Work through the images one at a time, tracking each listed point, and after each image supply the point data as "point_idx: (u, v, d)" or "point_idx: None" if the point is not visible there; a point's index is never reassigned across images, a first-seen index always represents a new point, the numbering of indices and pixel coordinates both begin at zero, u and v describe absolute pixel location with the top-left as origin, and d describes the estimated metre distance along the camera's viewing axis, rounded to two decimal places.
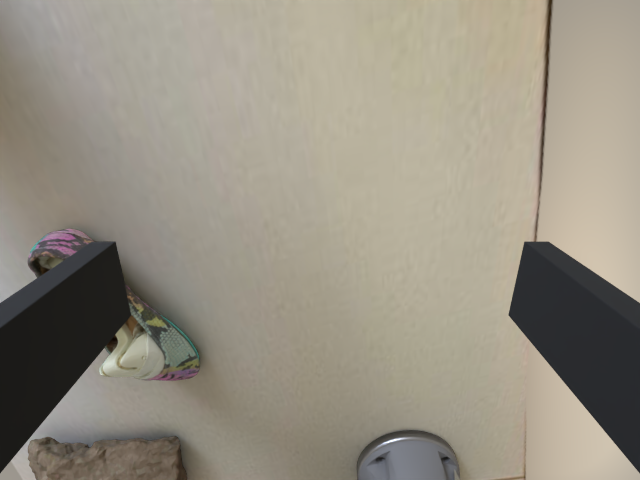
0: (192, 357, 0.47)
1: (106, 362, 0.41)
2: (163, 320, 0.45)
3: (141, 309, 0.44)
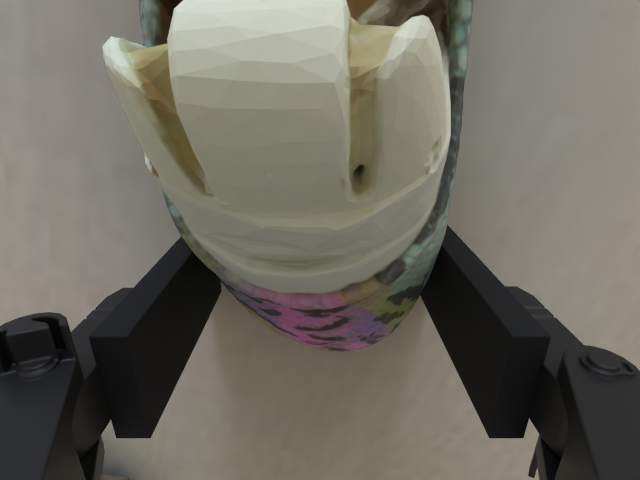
0: (421, 290, 0.12)
1: None
2: None
3: None
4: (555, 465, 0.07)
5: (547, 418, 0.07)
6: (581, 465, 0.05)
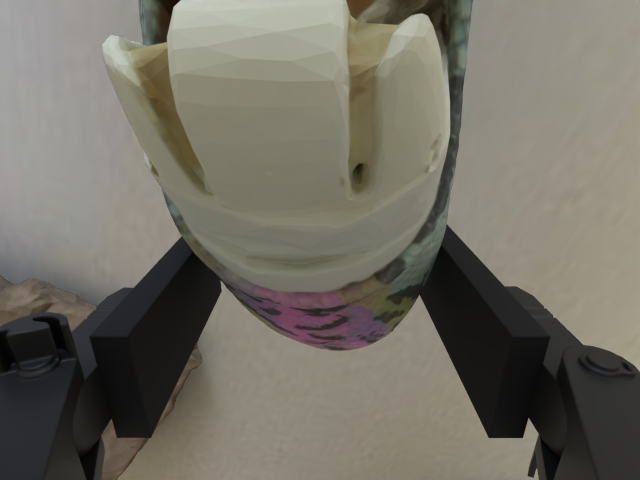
0: (420, 289, 0.12)
1: None
2: None
3: None
4: (555, 465, 0.07)
5: (547, 418, 0.07)
6: (581, 465, 0.05)
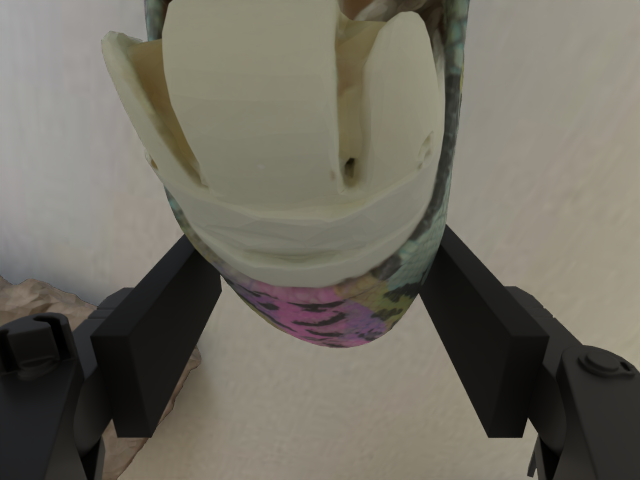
0: (419, 288, 0.12)
1: None
2: None
3: None
4: (554, 465, 0.07)
5: (546, 418, 0.07)
6: (580, 465, 0.05)
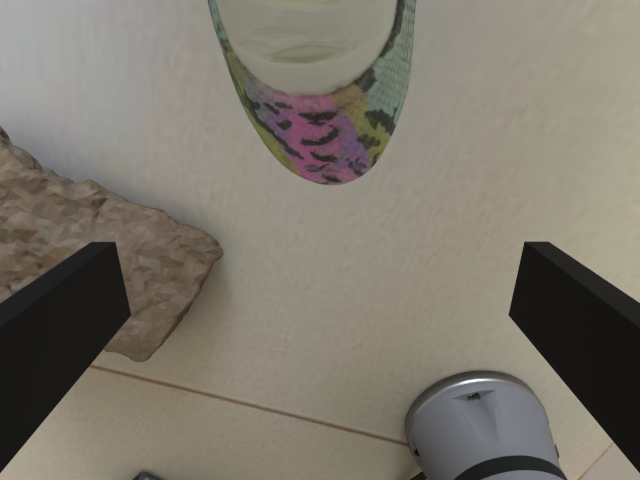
0: (392, 125, 0.16)
1: None
2: None
3: None
4: None
5: None
6: None
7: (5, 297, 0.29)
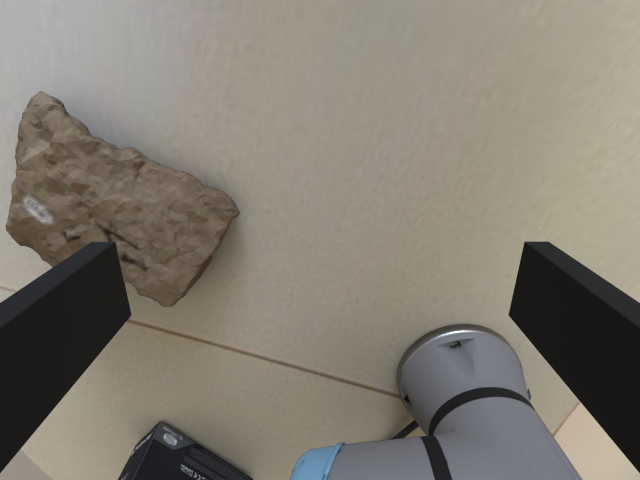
0: None
1: None
2: None
3: None
4: None
5: None
6: None
7: (60, 242, 0.35)
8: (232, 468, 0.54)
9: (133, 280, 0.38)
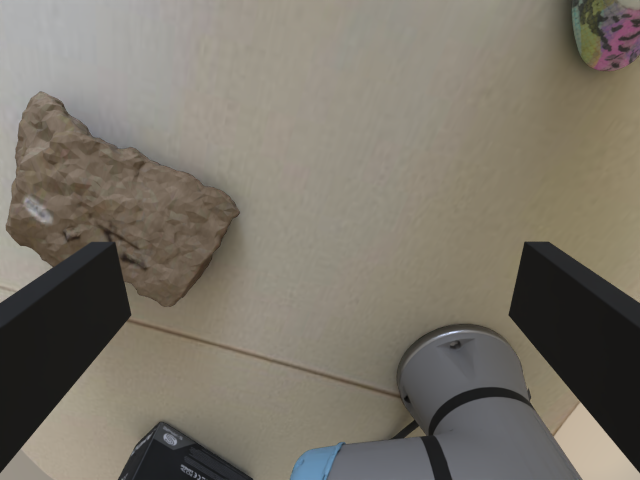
0: None
1: None
2: None
3: None
4: None
5: None
6: None
7: (60, 242, 0.35)
8: (232, 468, 0.54)
9: (133, 280, 0.38)
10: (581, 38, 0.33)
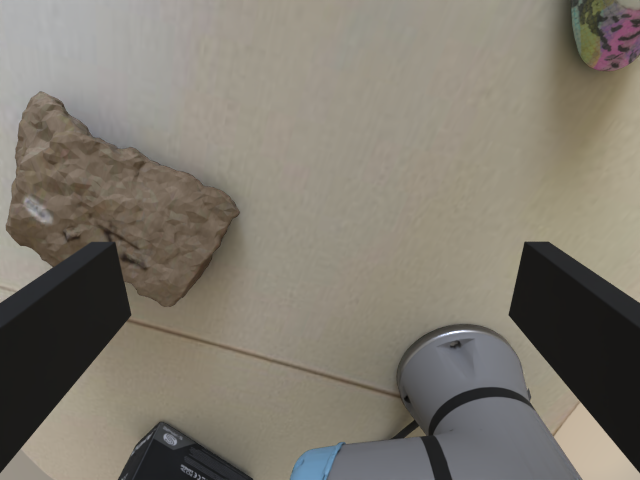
0: None
1: None
2: None
3: None
4: None
5: None
6: None
7: (60, 242, 0.35)
8: (232, 468, 0.54)
9: (133, 280, 0.38)
10: (581, 38, 0.33)
